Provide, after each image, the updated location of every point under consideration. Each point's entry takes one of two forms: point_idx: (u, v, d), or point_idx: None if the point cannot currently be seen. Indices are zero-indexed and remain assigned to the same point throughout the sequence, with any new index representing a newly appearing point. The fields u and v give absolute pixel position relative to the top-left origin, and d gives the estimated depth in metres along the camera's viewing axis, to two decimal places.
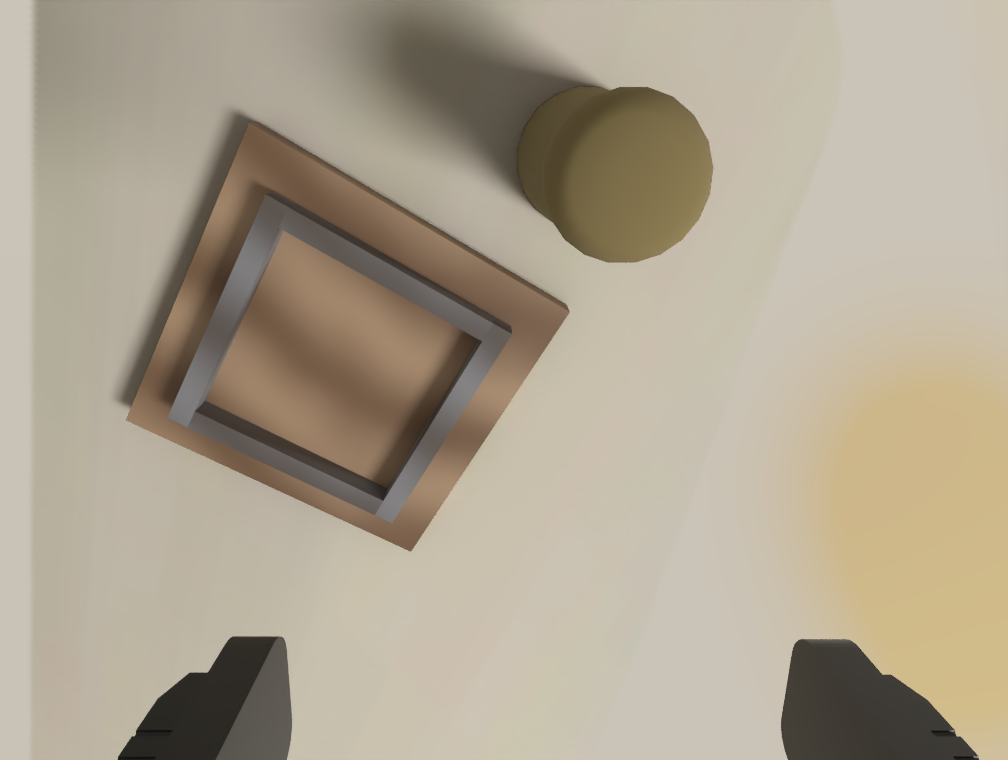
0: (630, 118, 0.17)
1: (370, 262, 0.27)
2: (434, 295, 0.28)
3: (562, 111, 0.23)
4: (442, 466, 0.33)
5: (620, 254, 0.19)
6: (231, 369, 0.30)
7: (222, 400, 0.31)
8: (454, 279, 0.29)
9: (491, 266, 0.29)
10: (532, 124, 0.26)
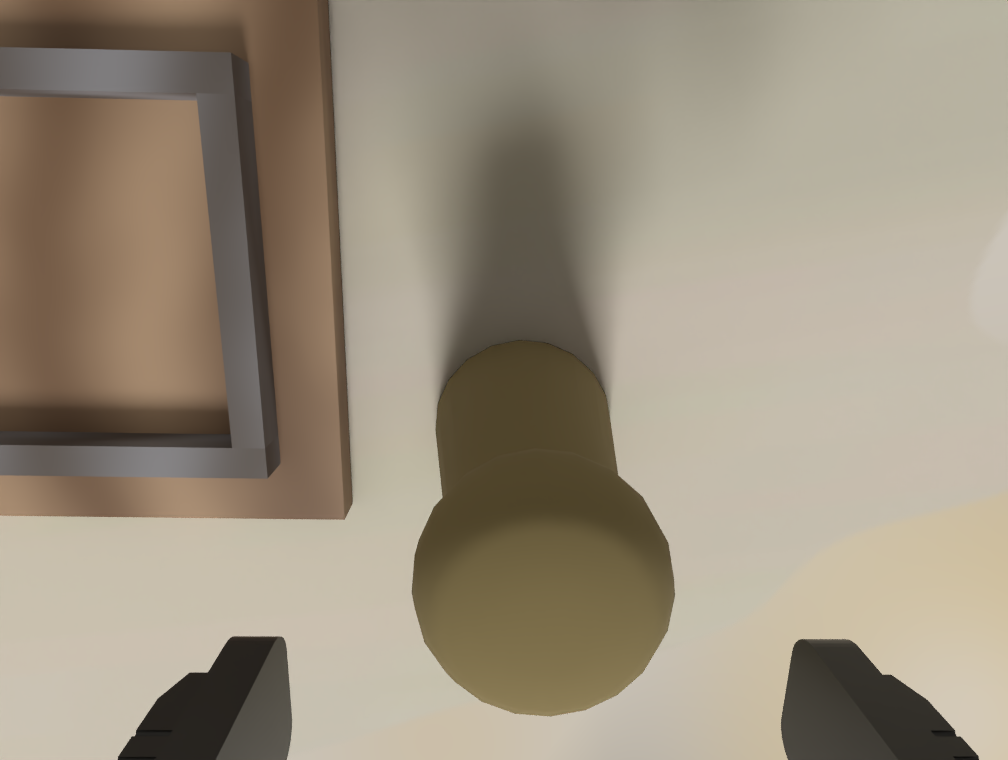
0: (626, 570, 0.11)
1: (235, 247, 0.18)
2: (249, 355, 0.18)
3: (565, 397, 0.17)
4: (28, 485, 0.21)
5: (440, 658, 0.12)
6: None
7: None
8: (291, 362, 0.20)
9: (337, 398, 0.20)
10: (528, 353, 0.20)
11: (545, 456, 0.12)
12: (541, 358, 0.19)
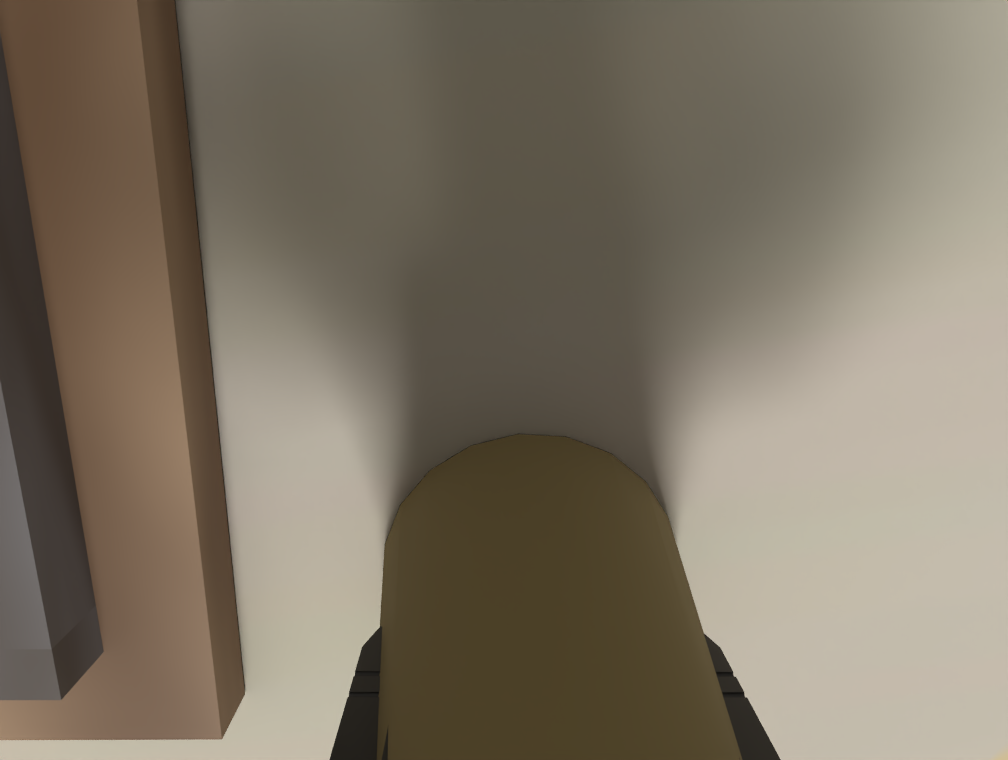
0: None
1: None
2: (6, 486, 0.10)
3: (617, 588, 0.08)
4: None
5: None
6: None
7: None
8: (110, 483, 0.11)
9: (198, 543, 0.11)
10: (534, 465, 0.11)
11: None
12: (559, 477, 0.11)
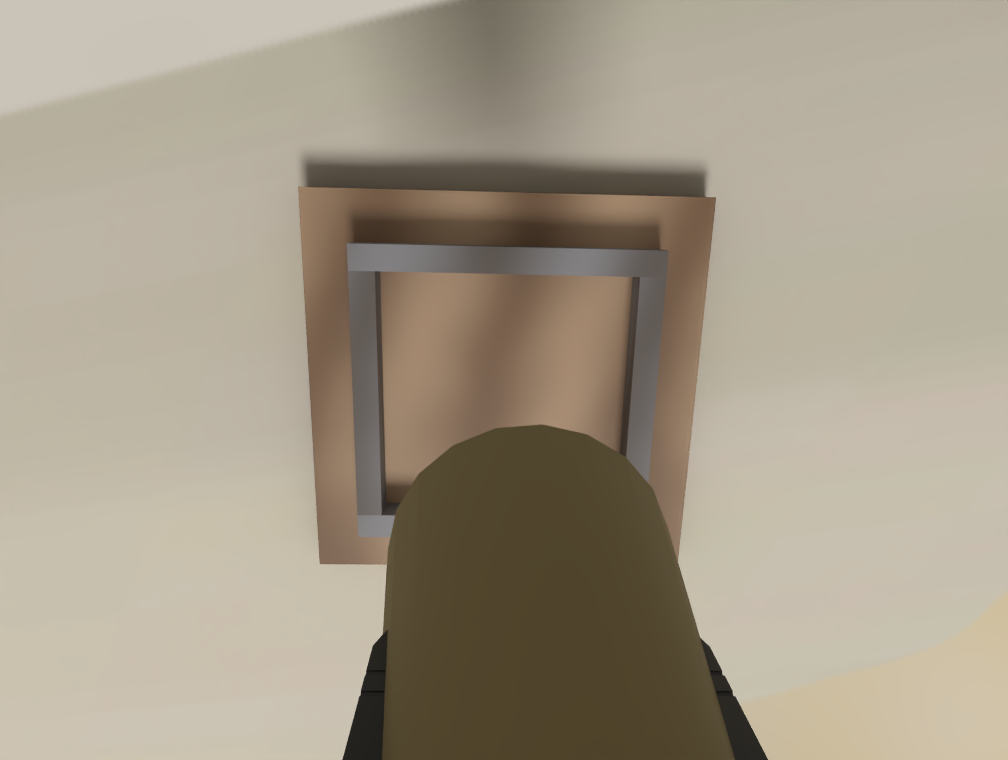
0: None
1: (648, 379, 0.25)
2: (645, 452, 0.25)
3: (585, 557, 0.09)
4: None
5: None
6: (436, 282, 0.25)
7: (391, 287, 0.25)
8: (656, 453, 0.27)
9: (685, 478, 0.27)
10: (510, 454, 0.12)
11: None
12: (534, 463, 0.11)
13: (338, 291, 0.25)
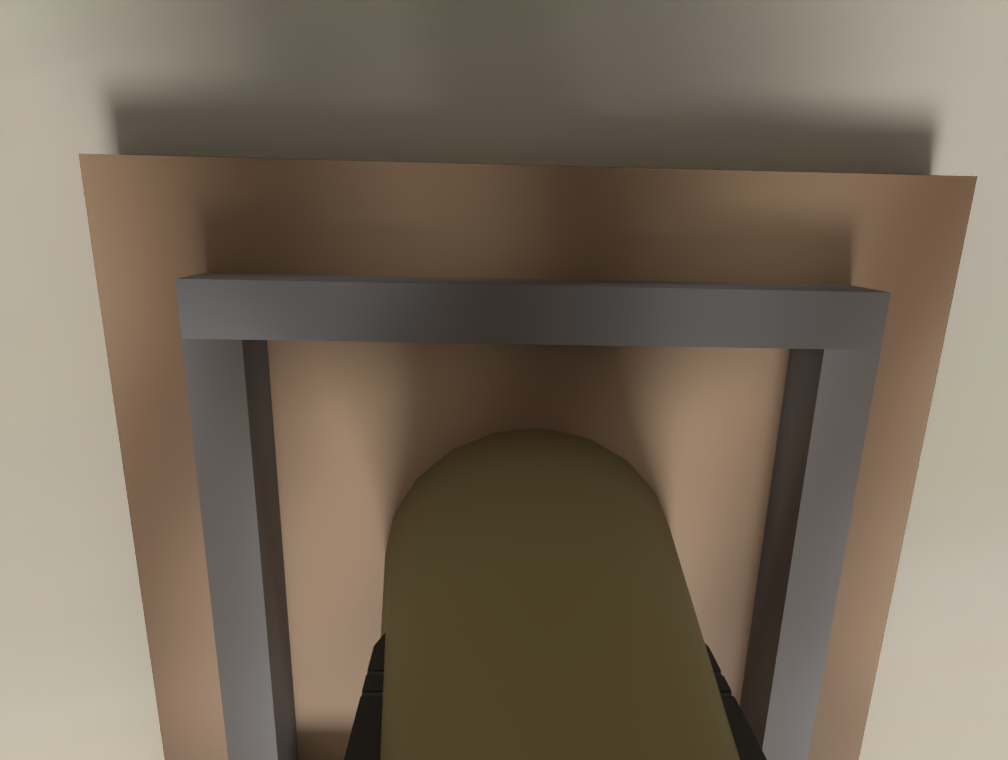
0: None
1: (826, 555, 0.12)
2: (809, 691, 0.13)
3: (589, 569, 0.09)
4: None
5: None
6: (385, 354, 0.12)
7: (292, 365, 0.12)
8: None
9: (866, 713, 0.14)
10: (511, 460, 0.11)
11: None
12: (535, 469, 0.11)
13: (181, 373, 0.12)
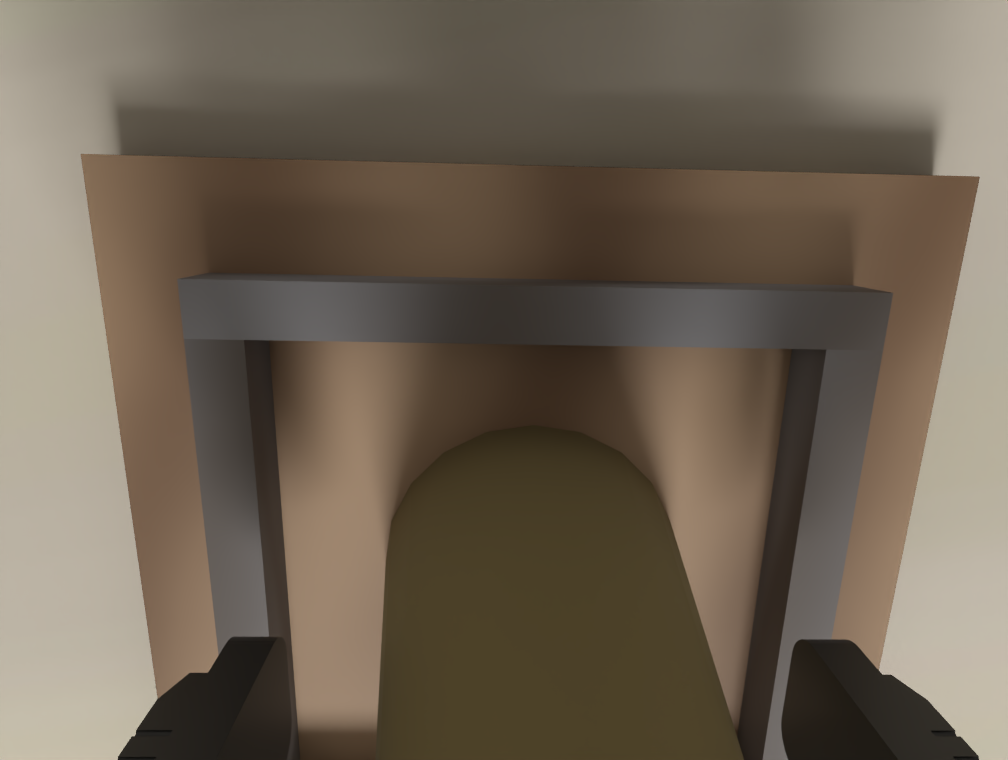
0: None
1: (828, 555, 0.12)
2: None
3: (579, 563, 0.08)
4: None
5: None
6: (387, 354, 0.12)
7: (294, 365, 0.12)
8: None
9: None
10: (501, 459, 0.11)
11: None
12: (525, 466, 0.11)
13: (183, 374, 0.12)
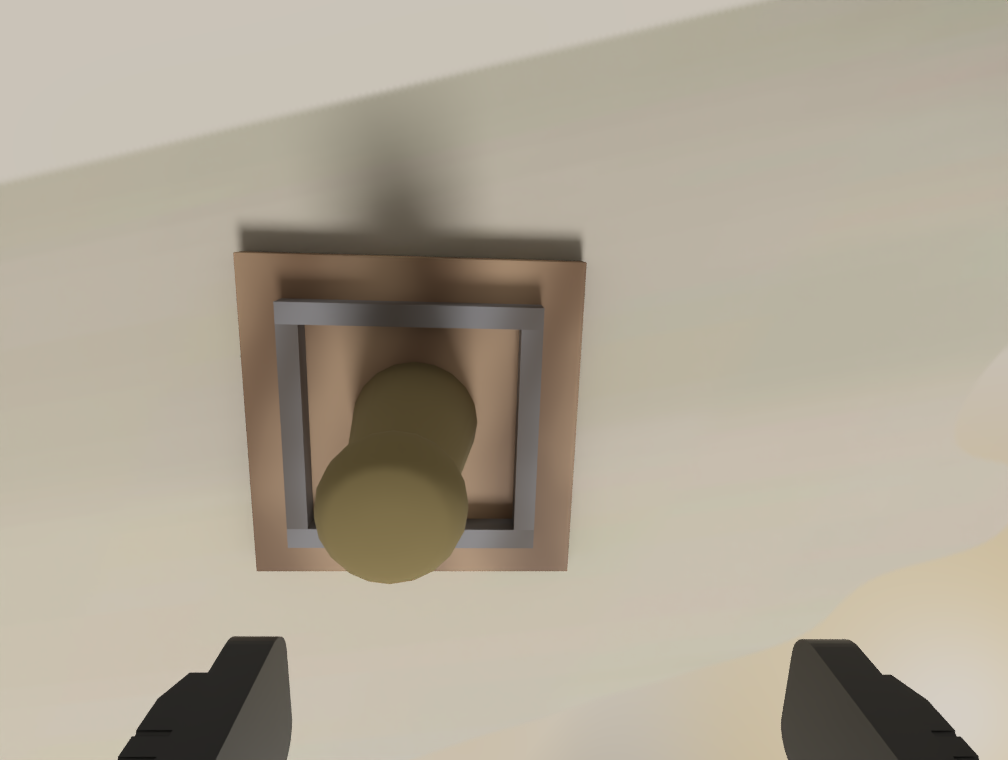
0: (417, 486, 0.20)
1: (532, 413, 0.29)
2: (532, 475, 0.30)
3: (414, 397, 0.26)
4: None
5: (337, 561, 0.20)
6: (353, 331, 0.29)
7: (314, 336, 0.29)
8: (545, 474, 0.31)
9: (571, 496, 0.32)
10: (397, 372, 0.29)
11: (372, 436, 0.21)
12: (406, 374, 0.28)
13: (269, 339, 0.29)
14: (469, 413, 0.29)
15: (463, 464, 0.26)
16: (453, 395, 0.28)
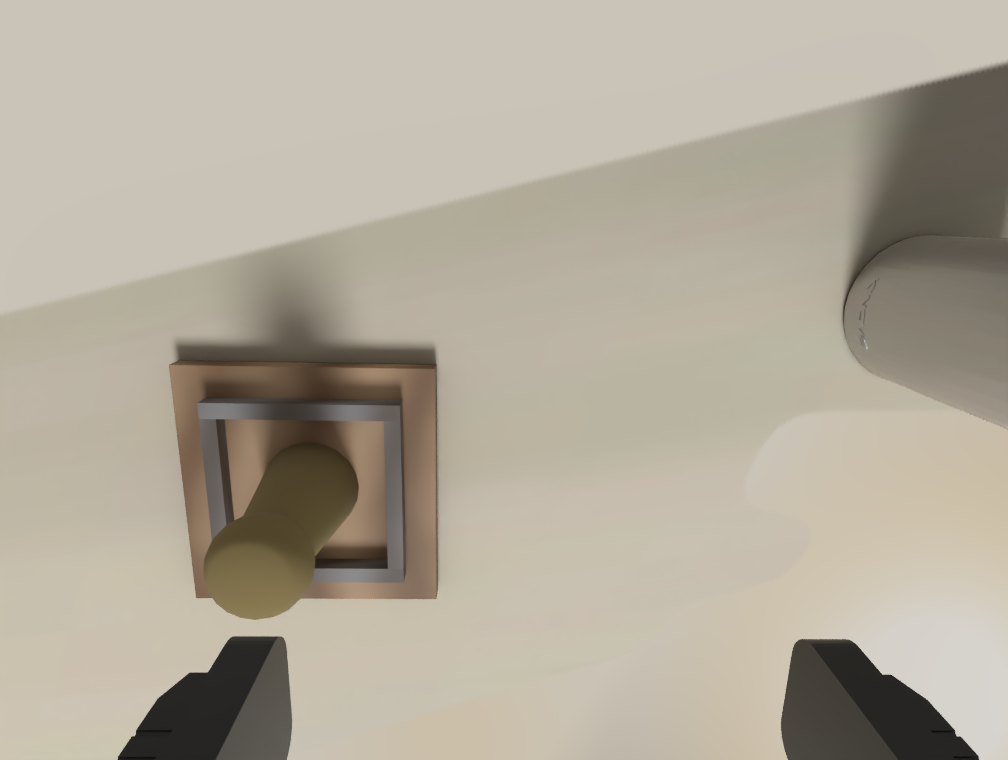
0: (268, 555, 0.29)
1: (396, 482, 0.39)
2: (399, 527, 0.39)
3: (294, 477, 0.35)
4: None
5: (218, 604, 0.30)
6: (260, 421, 0.39)
7: (232, 424, 0.39)
8: (414, 525, 0.41)
9: (435, 542, 0.41)
10: (292, 452, 0.38)
11: (244, 517, 0.30)
12: (297, 454, 0.38)
13: (198, 426, 0.39)
14: (346, 483, 0.38)
15: (333, 525, 0.36)
16: (331, 471, 0.37)
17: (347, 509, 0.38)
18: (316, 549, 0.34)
